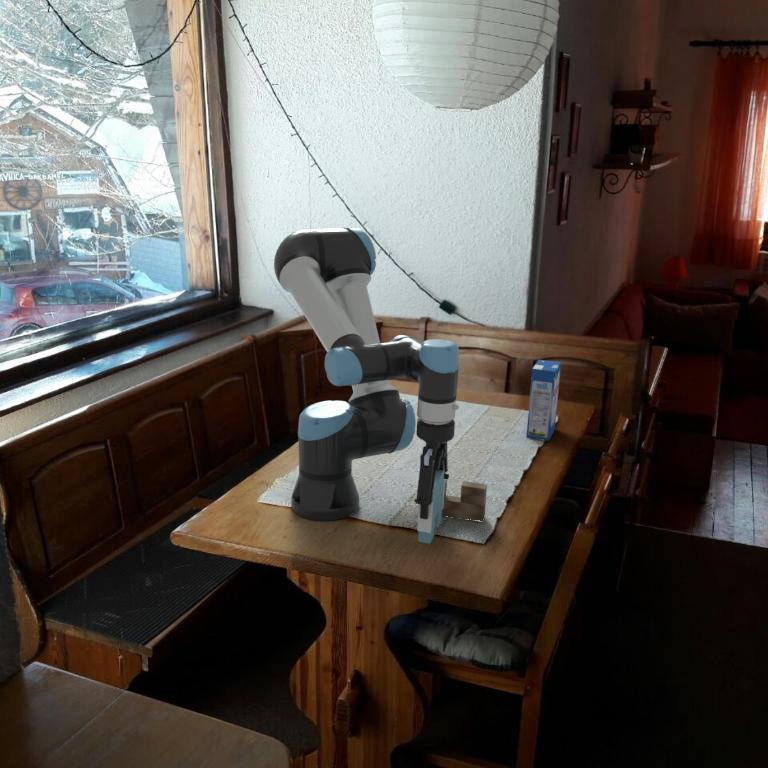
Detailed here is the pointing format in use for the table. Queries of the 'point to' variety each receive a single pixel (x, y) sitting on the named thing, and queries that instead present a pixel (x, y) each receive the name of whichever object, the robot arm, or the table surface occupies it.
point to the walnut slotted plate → (466, 502)
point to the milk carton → (543, 399)
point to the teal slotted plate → (435, 507)
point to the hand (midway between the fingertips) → (430, 519)
